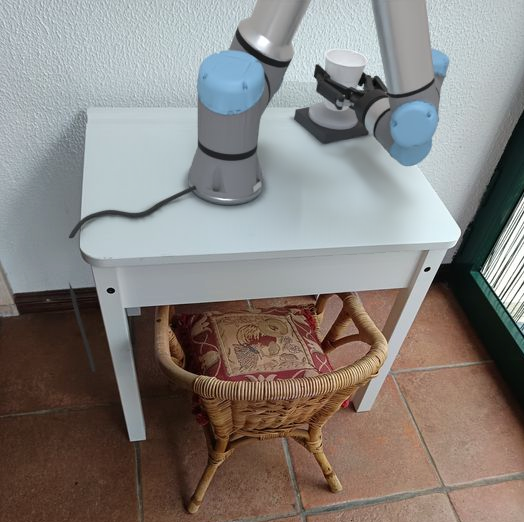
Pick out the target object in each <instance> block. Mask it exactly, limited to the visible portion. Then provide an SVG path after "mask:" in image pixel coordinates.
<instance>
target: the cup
mask: <svg viewBox="0 0 524 522" xmlns="http://www.w3.org/2000/svg"><path fill="white" fill-rule="evenodd" d="M324 58H325V60H324V61H325V62H324V70H325V71H326V72H327V73H328V74H329V75H330V79H331V80H333V81H336V82H338V83H340V84H342V85H344V86H346V87H348V88H349V87H353V88H355V89H357V87H358V86H359V85H358V82H359V80H360V78H361V75H362V73H363V72H364V70H365V68H366V66H367V64H368V63H369V59H368V58H367V57H366V56H365V55H364V54H363V53H361V52H359V51H356V50H352V49H348V48H339V47H338V48H331V49H328V50H326V51H325V53H324ZM351 94H352V93H351ZM323 102H324V104H325V106H326V107H327V108H328V109H330V110H333V111H344V110H346V109H348V107H349V106H343V107H342V110H338V109H337V108H336V107H335V105H334V104H332V103H331V102H330V101H328V100H327V99H326V98H324V97H323Z"/></svg>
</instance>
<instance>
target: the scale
mask: <svg viewBox="0 0 524 522" xmlns="http://www.w3.org/2000/svg"><path fill="white" fill-rule="evenodd" d="M293 119H294V120H295V121H296V122H297V123H298V124H299V125H300V126H301V127H303V128H304V129H305V130H306V131H308V132H309V133H310V134H311V135H312V136H313V137H314V138H315V139H317V140H318V141H319V142H320V143H321V144H323V145H325V144H330V143H335V142H339V141H344V140H348V139H353V138H357V137H358V138H359V137H363V136H367V135H369V133H370V132H369V131H368V130H367V129H366V128H365V127H364V126H363V125H362V124H361V123H360V122H359V121H358V119H357V117H356V114H355V111H354V110H352V109H350V108H349V107H348V109H346V110H344V111H333V110H330V109H328V108H327V107H326V106H325V104H324V101H318V102H314V103H313V104H311V105H310V106H308V107H302V108H296V109H295V111H294V118H293Z"/></svg>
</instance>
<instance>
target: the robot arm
mask: <svg viewBox="0 0 524 522" xmlns="http://www.w3.org/2000/svg"><path fill="white" fill-rule="evenodd" d="M311 2H312V0H256V3H255V6H254V8H253V10H252V13H251V15H250V16H249V17H246V18H243V19H241V20H240V21H239V22H238V26H237V28H236V30H235V32H234V35H233V38H232V41H231V43H230V44H229V48H228V50H220V51H219V53H218V52H214V53H211V54H209V55H208V56H206V57H205V58H204V59H203V60H202V62H201V64H200V66H199V68H198V74H197V80H196V82H197V83H196V93H197V148H196V149H195V153H194V156H193V158H192V162H191V164H190V167H189V171H188V186H189V187H187V188H186V189H184V190H181V191H179V192H177V193H175V194H173V195H171V196H168V197H167V198H164V199H162V200H161V201H159V202H157V203H156V204H154V205H153V206H151V207H150V208H148V209H146V210H144V211H140V212H128V211H122V210H116V209H106V210H101V211H97V212H94V213H90V214H88V215H86V216H85V217H83V218H82V219H81V220H79V221H78V223H76V225H75V226H74V227H73V229H72V230H71V231H70V234H69V236H68V239H74V238H75V236H76V235H77V233H78V232H79V230H80V229H81V228H82V227H83V226H84V225H85V224H86V223H87V222H88V221H90V220H93V219H94V218H98V217H101V216H106V215H115V216H121V217H127V218H140V217H144V216H147V215H149V214H151V213H153V212H154V211H156V210H158V209H159V208H160V207H162V206H164V205H166V204H168V203H170V202H173V201H174V200H176V199H178V198H180V197H182V196H185V195H187V194H189V193H191V192H193V194H195V195H196V196H197V197H198V198H200V199H202V200H203V201H206V202H208V203H212V204H216V205H220V206H221V205H222V206H237V205H238V206H239V205H243V204H247V203H249V202H251V201H253V200H255V199H256V198H257V197H259V195H260V194H261V192H262V188H263V173H262V170H261V169H262V168H261V164H260V161H259V156H258V145H259V136H260V135H259V133H260V124H261V120H262V116H263V114H264V113H265V111H266V109H267V108H268V106H269V105H270V102H271V101H272V99H273V98H274V96H275V95H276V94H277V93H278V91H279V90H280V88H281V86H282V85H283V81H284V79H285V78H284V77H285V75H286V72H287V70H288V69H289V67H290V64H291V62H292V61H293V58H294V55H295V50H294V46H293V44H292V43H293V39H294V37H295V35H296V33H297V31H298V28H299V27H300V25H301V23H302V21H303V19H304V17H305V14H306V13H307V10H308V8H309V7H310V4H311ZM370 2H371V9H372V14H373V19H374V25H375V29H376V36H377V42H378V46H379V52H380V57H381V62H382V63H381V64H382V68H383V74H384V79H385V83H386V84H385V83H384V82H383V80H382V79H381V78H380V76H379V75H374V76H373V77H372V76H371V75H370V74H366V73H365V71H363V73H362V75H361V78H360V80H359V82H358V85H357V86H358V87H362V89H358V88H356V89H355V88H353V87H349V88H348V87H346V86H344V85H342V84H340V83H338V82H336V81H333V80H331V79H330V75H329V74H328V73H327V72H326V71H325V68H323V67H322V66H321V65H320V64H319V63H317V64H315V66H314V72H313V78H314V79H315V80H316V89H315V91H316V93H317V94H319V95H320V96H321V97H322V98H323V99H324V98H326V99H327V100H328V101H330V102H331V103H332V104H334V105H335V107H336V108H337V109H338V110H342V107H343V106H349V108H350V109H352V110H354V111H355V114H356V117H357V119H358V121H359V122H360V123H361V124H362V125H363V126H364V127H365V128H366V129H367V130H368V131H369V133H370V134H371V136H372V137H374V138H375V140H376V141H377V142H378V144H379V145H380V146H382V147H383V149H384V150H385V151H386V152H387V153H388V154H389V156H390V157H391V158H393V159H394V160H395V162H397V163H399V164H400V165H402V166H403V167H412V166H416V165H418V164H420V163H421V162H423V161H424V160H425V159H426V158H427V156H428V155H429V154H430V152H431V150H432V147H433V137H434V135H435V134H436V131H437V127H438V125H439V122H440V116H439V111H440V101H441V90H442V86H443V83H444V81H445V78H446V77H447V72H448V68H449V66H450V57H449V56H448V55H447V54H446V53H444V52H442V51H441V50H438V49H436V48H432V43H431V34H430V25H429V17H428V8H427V0H370ZM351 93H352V94H351ZM68 285H69V291H70V297H71V301H72V302H71V303H72V306H73V310H74V313H75V314H74V315H75V317H76V321H77V324H78V327H79V330H80V333H81V336H82V340H83V344H84V346H85V349H86V353H87V356H88V359H89V363H90V367H91V371H92V373H95V372H96V366H95V361H94V358H93V354H92V350H91V347H90V344H89V340H88V337H87V334H86V330H85V328H84V323H83V321H82V317H81V314H80V310H79V306H78V301H77V297H76V294H75V291H74V289H73V287H72V285H71V283H70V282H68Z"/></svg>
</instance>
